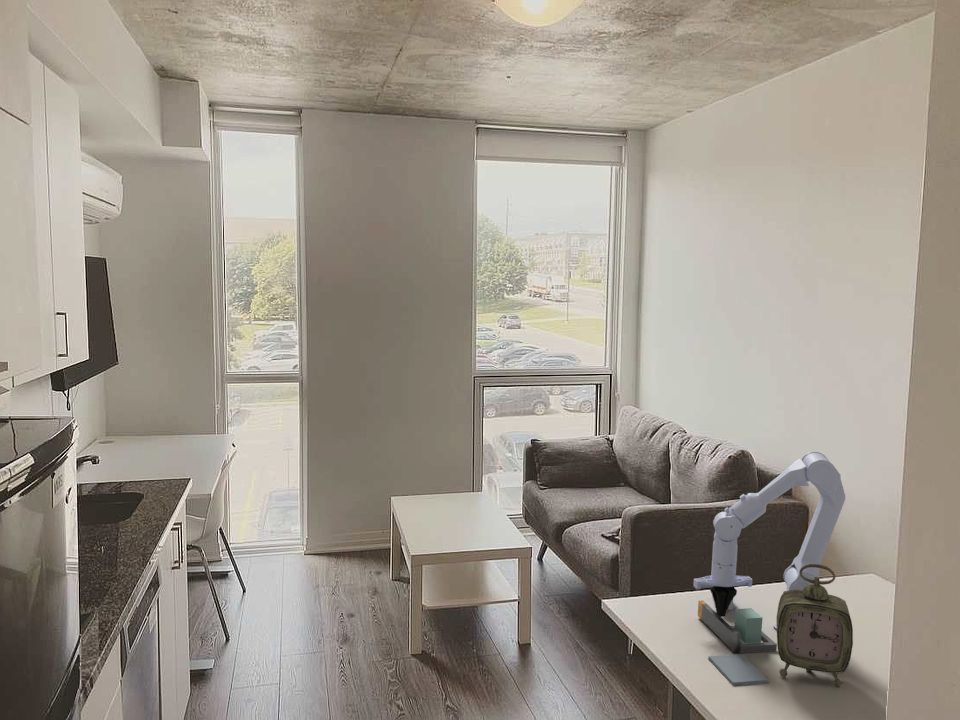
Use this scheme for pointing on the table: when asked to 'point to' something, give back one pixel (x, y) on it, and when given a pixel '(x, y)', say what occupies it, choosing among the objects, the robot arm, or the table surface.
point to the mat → (737, 669)
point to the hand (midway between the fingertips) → (720, 614)
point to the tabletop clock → (814, 629)
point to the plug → (748, 625)
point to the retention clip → (719, 626)
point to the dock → (758, 645)
